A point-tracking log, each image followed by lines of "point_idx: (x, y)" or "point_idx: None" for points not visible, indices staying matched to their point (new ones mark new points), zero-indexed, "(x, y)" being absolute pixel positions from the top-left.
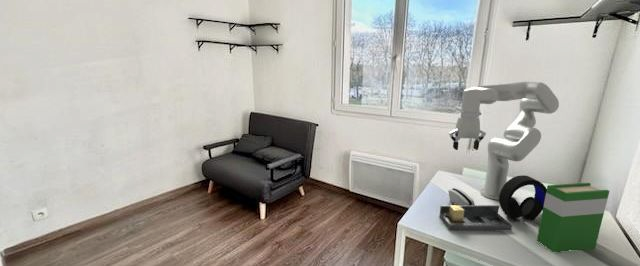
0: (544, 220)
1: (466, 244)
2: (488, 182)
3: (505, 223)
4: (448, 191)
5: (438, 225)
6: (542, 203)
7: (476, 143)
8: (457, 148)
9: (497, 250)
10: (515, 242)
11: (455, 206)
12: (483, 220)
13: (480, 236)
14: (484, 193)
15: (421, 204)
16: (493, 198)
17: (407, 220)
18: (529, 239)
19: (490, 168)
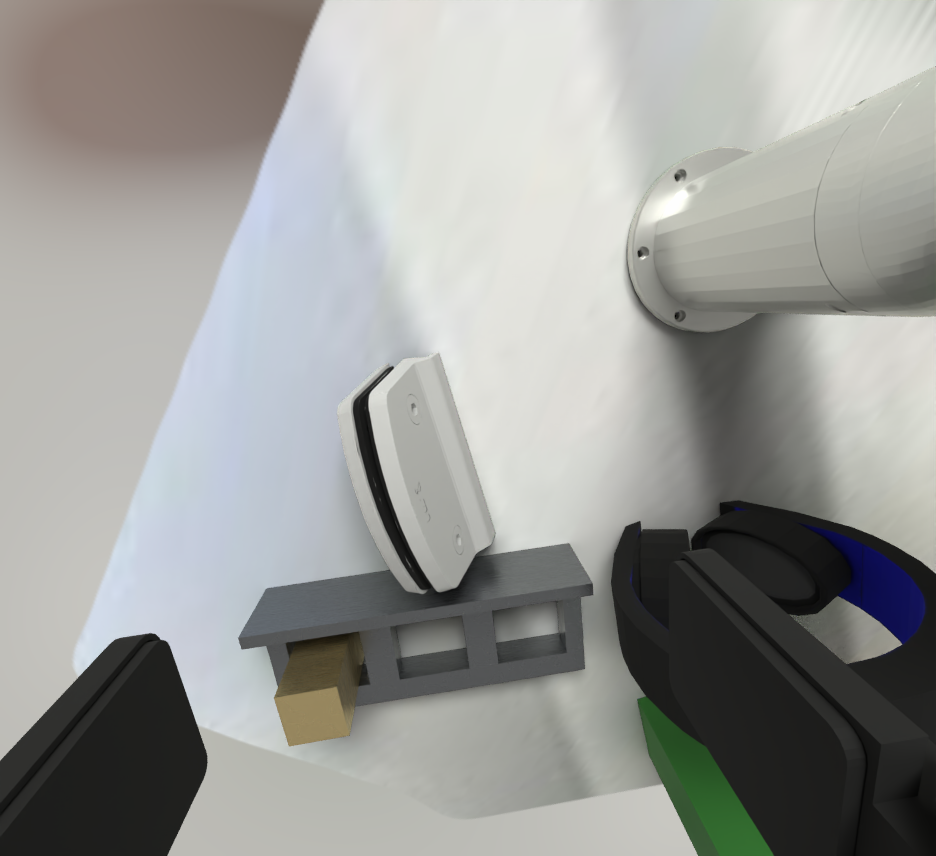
0: (695, 818)
1: (344, 769)
2: (710, 264)
3: (564, 657)
4: (341, 404)
5: (249, 663)
6: (845, 595)
7: (788, 846)
8: (176, 817)
9: (451, 780)
10: (546, 723)
11: (308, 704)
12: (468, 650)
13: (421, 710)
14: (645, 262)
15: (173, 459)
16: (670, 324)
17: (89, 648)
18: (615, 694)
19: (818, 248)
